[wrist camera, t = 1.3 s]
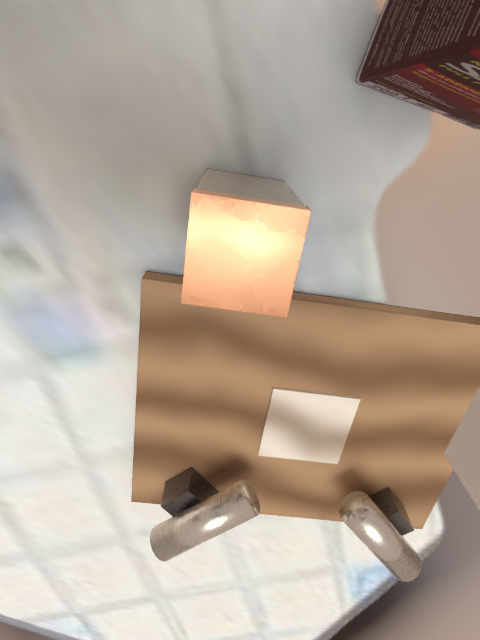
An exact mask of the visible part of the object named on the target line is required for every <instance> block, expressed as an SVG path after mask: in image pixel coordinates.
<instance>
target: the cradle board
mask: <svg viewBox="0 0 480 640" xmlns="http://www.w3.org/2000/svg"><path fill="white" fill-rule="evenodd" d="M182 285H183V276H177V275H170V274H162V273H155V272H148V271H146V273H145V275H144V276H143V278H142V291H141V311H140V332H139V353H138V374H137V395H136V416H135V437H134V458H133V479H132V500H131V502H142V503H152V504H161V503H162V497H163V492H164V487H165V482H166V481H167V480H169V479H170V478H172V477H174V476H176V475H177V474H179V473H181V472H183V471H184V470H186V469H188V468H190V467H191V466H192V467H193V468H194V469H195V470H196V471H197V472H198V473H199V474H200V475H202V476H203V477H204V478H205V479H206V480H207V481H208V482H209V483H210V484H211V485H212V486H213V487H215V488H216V489H217V490H218V491H219V492H220V491H222V490H224V489H225V488H227V487H229V486H231V485H233V484H235V483H237V482H239V481H240V480H243V479H244V480H247V481H248V482H249V483H250V484H251V485H252V487H253V488H254V490H255V492H256V494H257V496H258V499H259V503H260V513H259V514H268V515H279V516H289V517H300V518H311V519H321V520H332V521H342V522H344V521H343V520H342V519H341V517H340V515H339V506H340V503H341V501H342V500H343V498H344V497H345V496H346V495H348V494H349V493H351V492H354V491H361V492H364V493H366V494H367V495H368V496H370V495H372V494H374V493H376V492H378V491H380V490H382V489H385V488H387V487H389V488H390V489H391V490H392V492H393V493H394V494H395V495H396V496H397V498H398V499H399V500H400V501H401V503H402V504H403V505H404V508H405V510H406V512H407V515H408V517H409V519H410V521H411V524H412V526H413V528H416V529H422V528H423V526H424V524H425V522H426V520H427V518H428V516H429V514H430V512H431V511H432V509H433V507H434V505H435V503H436V501H437V499H438V497H439V495H440V494H441V492H442V490H443V488H444V486H445V484H446V482H447V480H448V478H449V477H450V475H451V473H452V471H453V468H452V466H451V464H450V463H449V461H448V460H447V458H446V456H445V455H444V453H445V451H446V449H447V447H448V445H449V443H450V441H451V439H452V437H453V435H454V433H455V432H456V430H457V428H458V426H459V424H460V422H461V420H462V418H463V416H464V414H465V413H466V411H467V409H468V407H469V405H470V403H471V401H472V399H473V397H474V395H475V394H476V392H477V390H478V388H479V386H480V318H479V317H471V316H464V315H457V314H450V313H443V312H435V311H428V310H421V309H414V308H407V307H400V306H392V305H385V304H378V303H371V302H364V301H357V300H349V299H342V298H335V297H328V296H321V295H313V294H306V293H299V292H293V293H292V298H291V302H290V306H289V311H288V315H287V318H286V317H278V316H271V315H263V314H256V313H249V312H241V311H234V310H226V309H219V308H211V307H204V306H196V305H189V304H181V296H182Z"/></svg>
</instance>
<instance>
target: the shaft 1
mask: <svg viewBox="0 0 480 640" xmlns="http://www.w3.org/2000/svg"><path fill="white" fill-rule="evenodd" d="M161 507H162V508H163V509H165V510H166V511H167V512H168V513H169V514H171V515H172V516H173V517H171V518H170V519H168V520H166V521H164V522H162V523H160V524H158V525H157V526H155V527H154V528H153V529H152V531H151V535H150V543H151V547H152V550H153V552H154V554H155V556H156V557H157V558H158V559H159V560H161V561H168V560H170V559H172V558H174V557H176V556H178V555H180V554H182V553H184V552H186V551H188V550H190V549H192V548H194V547H196V546H198V545H200V544H202V543H204V542H206V541H208V540H210V539H212V538H214V537H216V536H218V535H220V534H222V533H224V532H226V531H228V530H230V529H232V528H234V527H236V526H238V525H240V524H242V523H244V522H246V521H247V520H249V519H251V518H253V517H255V516H257V515H259V513H260V503H259V499H258V496H257V494H256V492H255V490H254V488H253V487H252V485H251V484H250V483H249V482H248V481H247V480H244V479H243V480H240V481H239V482H237V483H235V484H233V485H231V486H229V487H227V488H225V489H224V490H222V491H220V492H219V491H218V490H217V489H216V488H215V487H213V486H212V485H211V484H210V483H209V482H208V481H207V480H206V479H205V478H204V477H203V476H202V475H200V474H199V473H198V472H197V471H196V470H195V469H194V468H193V467H192V466H191V467H190V468H188V469H186V470H184V471H183V472H181V473H179V474H177V475H176V476H174V477H172V478H170V479H169V480H167V481H166V482H165V487H164V492H163V497H162V503H161Z"/></svg>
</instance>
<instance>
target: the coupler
mask: <svg viewBox="0 0 480 640" xmlns="http://www.w3.org/2000/svg"><path fill="white" fill-rule="evenodd" d="M310 214H311V210H310V209H309V208H308V207H307V206H305V205H304V204H303V203H302V202H301V201H300V199H299V198H298V197H297V196H296V195H295V193H294V192H293V191H292V190H291V189H290V187H289V186H288V185H287V184H286V182H285V181H282V180H276V179H270V178H264V177H258V176H251V175H245V174H239V173H233V172H226V171H220V170H214V169H208V168H207V170H206V172H205V173H204V175H203V177H202V178H201V180H200V182H199V184H198V185H197V187H196V189H193V191H192V192H191V202H190V212H189V223H188V233H187V244H186V254H185V265H184V275H183V285H182V296H181V304H189V305H196V306H204V307H211V308H219V309H226V310H234V311H241V312H249V313H256V314H263V315H271V316H278V317H286V318H287V315H288V311H289V306H290V302H291V298H292V293H293V289H294V284H295V280H296V276H297V271H298V267H299V262H300V258H301V254H302V249H303V245H304V240H305V236H306V232H307V227H308V223H309V218H310Z"/></svg>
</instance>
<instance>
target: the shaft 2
mask: <svg viewBox="0 0 480 640" xmlns="http://www.w3.org/2000/svg"><path fill="white" fill-rule="evenodd" d="M339 515H340V517H341V519H342V520H343V521H344V523H345V524H346V525H347V526H348V527H349V528H350V529H351V530H352V531H353V532H354V533H355V534H356V535H357V537H358V538H359V539H360V540H361V541H362V542H363V543H364V544H365V545H366V546H367V547H368V548H369V549H370V551H371V552H372V553H373V554H374V555H375V556H376V557H377V558H378V559H379V560H380V561H381V562H382V563H383V565H384V566H385V567H386V568H387V569H388V570H389V571H390V572H391V573H392V574H393V575H394V576H395V577H396V578H397V579H398V580H401V581H405V582H406V581H407V582H408V581H412V580H414V579H415V578H416V577H417V576H418V575H419V573H420V571H421V560H420V557H419V555H418V554H417V553H416V552H415V550H414V549H413V548H412V547H411V546H410V544H409V543H408V542H407V541H406V540H405V539H404V537H403V536H402V535H405V534H407V533H409V532H412V531H414V528H413V526H412V524H411V521H410V519H409V517H408V515H407V512H406V510H405V508H404V505H403V504H402V503H401V501H400V500H399V499H398V498H397V496H396V495H395V494H394V493H393V492H392V490H391V489H390V488H389V487H387V488H385V489H382V490H380V491H378V492H376V493H374V494H372V495H370V496H368V495H367V494H366V493H364V492H361V491H354V492H351V493H349V494H348V495H346V496H345V497H344V498H343V500H342V501H341V503H340V506H339Z"/></svg>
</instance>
